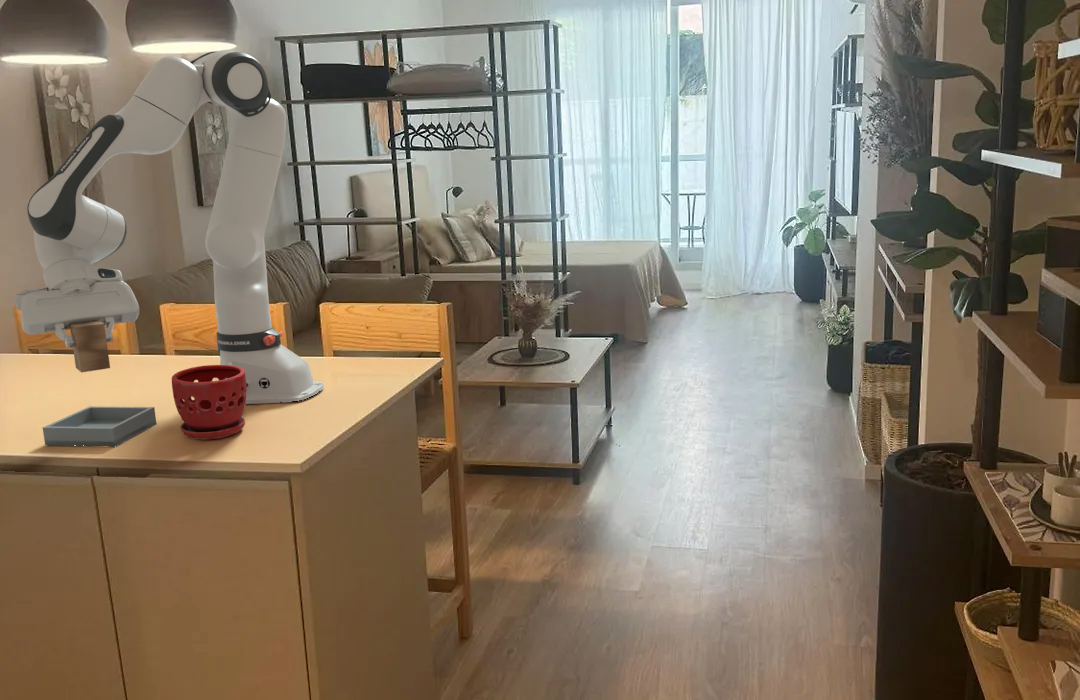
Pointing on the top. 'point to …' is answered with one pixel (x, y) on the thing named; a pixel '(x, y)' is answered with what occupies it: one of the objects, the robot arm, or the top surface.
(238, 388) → the plant pot
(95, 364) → the walnut block
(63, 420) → the tray
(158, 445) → the top surface
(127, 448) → the top surface
